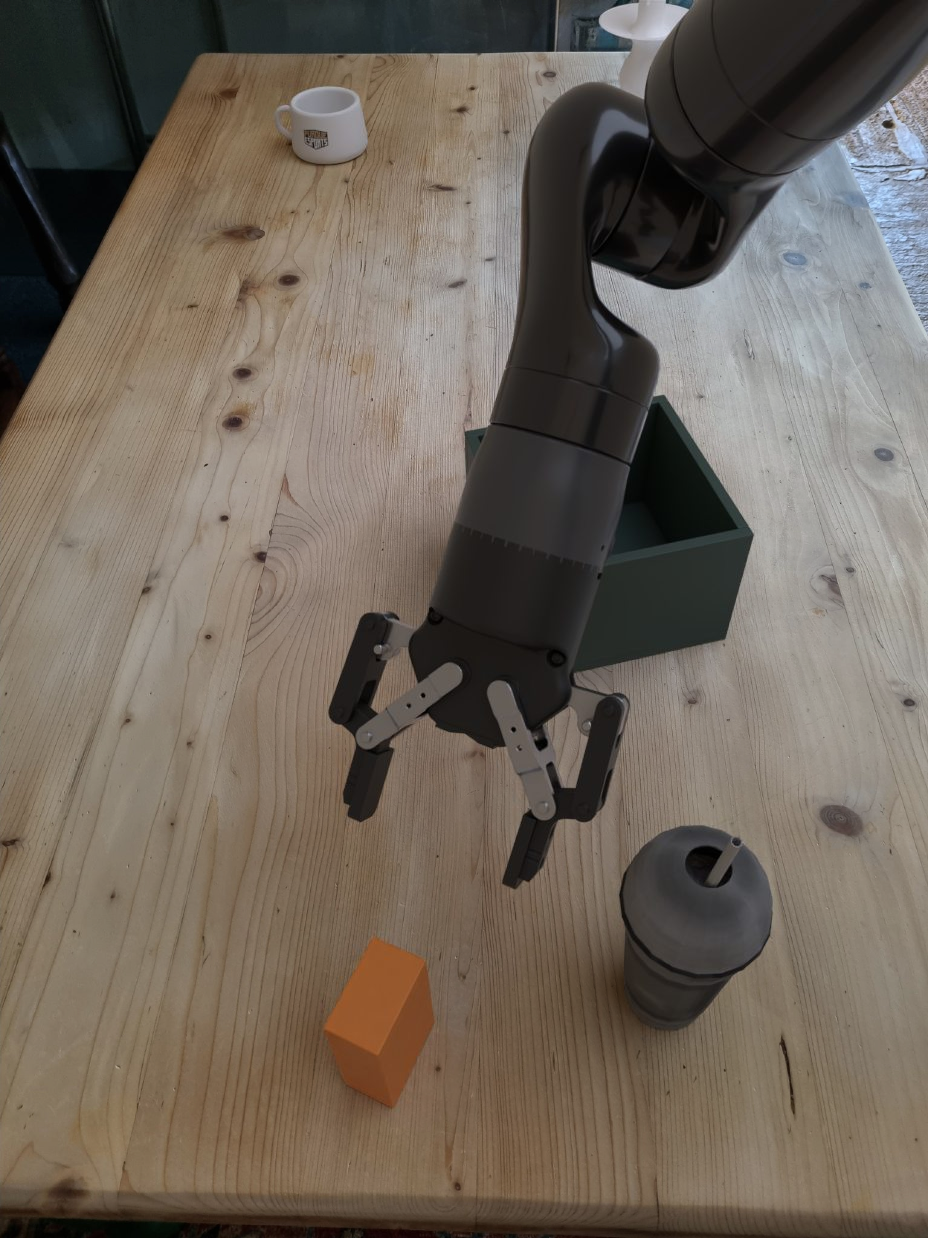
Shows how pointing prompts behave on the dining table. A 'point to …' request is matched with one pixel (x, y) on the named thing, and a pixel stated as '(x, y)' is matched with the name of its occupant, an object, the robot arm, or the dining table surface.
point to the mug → (325, 125)
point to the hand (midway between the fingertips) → (435, 849)
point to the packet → (381, 1021)
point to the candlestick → (641, 36)
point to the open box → (663, 551)
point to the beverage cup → (690, 921)
